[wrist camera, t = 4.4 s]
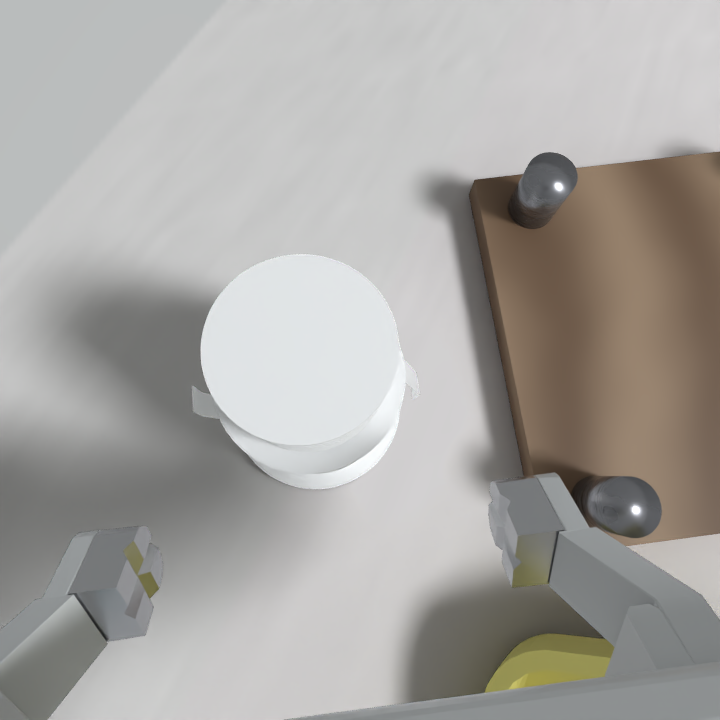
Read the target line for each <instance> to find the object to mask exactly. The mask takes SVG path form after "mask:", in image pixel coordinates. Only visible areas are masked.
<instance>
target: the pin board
mask: <svg viewBox="0 0 720 720" xmlns="http://www.w3.org/2000/svg"><path fill="white" fill-rule="evenodd" d="M469 197H470V202H471V208H472V213H473V218H474V223H475V228H476V233H477V238H478V243H479V249H480V254H481V259H482V264H483V269H484V274H485V279H486V284H487V289H488V295H489V300H490V305H491V310H492V315H493V320H494V325H495V330H496V336H497V341H498V346H499V351H500V356H501V361H502V366H503V371H504V376H505V382H506V387H507V392H508V397H509V402H510V407H511V412H512V417H513V422H514V428H515V433H516V438H517V443H518V448H519V453H520V458H521V463H522V469H523V474H524V476H530V475H532V476H534V475H539V474H547V473H554V472H555V473H556V474H558V475H559V477H560V478H561V480H562V482H563V483H564V485H565V487H566V488H567V490H568V492H569V494H570V495H571V497H572V499H573V500H574V502H575V504H576V505H577V507H578V509H579V511H580V512H581V514H582V516H583V517H584V519H585V521H586V522H587V524H588V526H589V527H590V528H592V527H597V528H598V529H600V530H601V531H603V532H604V533H606V534H608V535H609V536H611V537H612V538H614V539H615V540H617V541H618V542H620V543H622V544H623V545H625V546H631V545H638V544H645V543H653V542H660V541H668V540H675V539H682V538H690V537H697V536H704V535H712V534H719V533H720V152H713V153H704V154H696V155H687V156H678V157H670V158H661V159H652V160H643V161H635V162H626V163H617V164H608V165H600V166H591V167H582V168H575V166H574V164H573V163H572V162H571V161H570V160H569V159H568V158H566V157H565V156H563V155H561V154H558V153H551V152H549V153H543V154H540V155H538V156H536V157H535V158H533V159H532V160H531V162H530V163H529V165H528V167H527V168H526V170H525V172H524V174H521V175H513V176H504V177H495V178H486V179H478V180H474V183H473V186H472V188H471V191H470V193H469Z"/></svg>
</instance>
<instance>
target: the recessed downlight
mask: <svg viewBox="0 0 720 720" xmlns="http://www.w3.org/2000/svg"><path fill="white" fill-rule="evenodd" d="M201 365H202V370H203V375H204V378H205V381H206V384H207V386H208V389H209V391H210V393H211V394H208V393H203V392H201V391H200V390H198V389H197V388H196V387H194V386H191V387H192V407H193V412H194V413H196V414H198V415H200V416H202V417H209V418H217V419H220V421H221V423H222V425H223V427H224V429H225V430H226V432H227V433H228V434H229V436H230V437H231V439H232V440H233V441H234V442H235V443H236V444H237V445H238V446H239V447H240V448H241V449H242V450H243V451H244V452H245V453H247V454H248V455H249V457H250V458H251V459H252V460H253V462H254V463H255V464H256V465H257V466H258V467H259V468H260V469H262V470H263V471H264V472H265V473H267V474H268V475H269V476H271V477H273V478H274V479H276V480H278V481H280V482H282V483H285V484H288V485H291V486H294V487H298V488H304V489H327V488H333V487H337V486H340V485H344V484H346V483H349V482H351V481H353V480H355V479H357V478H359V477H360V476H362V475H363V474H365V473H366V472H367V471H369V470H370V469H371V468H372V467H373V466H374V465H375V464H376V463H377V462H378V461H379V460H380V459H381V458H382V456H383V455H384V454H385V452H386V451H387V449H388V447H389V446H390V444H391V442H392V440H393V437H394V435H395V432H396V429H397V426H398V421H399V414H400V408H401V405H402V401H403V397H404V392H405V384H406V385H408V386H409V387H410V389H411V395H412V400H414V399H415V398H416V397H418V396H419V395H420V392H419V385H418V379H417V373H416V371H415V370H414V369H413V368H412V367H411V366H410V365H409V364H408V363H407V362H406V360H405V359H404V358H403V354H402V350H401V347H400V344H399V338H398V331H397V326H396V323H395V320H394V316H393V314H392V312H391V309H390V307H389V305H388V304H387V302H386V300H385V299H384V297H383V296H382V294H381V293H380V291H379V290H378V289H377V288H376V287H375V286H374V285H373V284H372V283H371V282H370V281H369V280H368V279H367V278H366V277H365V276H364V275H362V274H361V273H360V272H358V271H357V270H355V269H354V268H352V267H350V266H348V265H346V264H344V263H342V262H339V261H337V260H334V259H331V258H328V257H323V256H318V255H311V254H292V255H285V256H279V257H275V258H272V259H269V260H266V261H263V262H261V263H258V264H256V265H254V266H252V267H251V268H249V269H247V270H246V271H244V272H243V273H241V274H240V275H238V276H237V277H236V278H235V279H234V280H232V281H231V282H230V283H229V284H228V285H227V286H226V287H225V289H224V290H223V291H222V292H221V293H220V295H219V296H218V298H217V299H216V301H215V302H214V304H213V306H212V307H211V309H210V311H209V314H208V316H207V318H206V321H205V325H204V328H203V332H202V337H201Z"/></svg>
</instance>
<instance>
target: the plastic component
mask: <svg viewBox="0 0 720 720" xmlns="http://www.w3.org/2000/svg"><path fill="white" fill-rule="evenodd" d="M614 648H615V647H614V646H613V645H612V644H611V643H610V642H609V641H607V640H606V639H600V638H591V637H582V636H573V635H564V634H541V635H537V636H534V637H531V638H529V639H527V640H525V641H523V642H521V643H520V644H518V645H517V646H516V647H515V648H514V649H513V650H512V651H511V652H510V653H509V654H508V655H507V657H506V658H505V659H504V661H503V662H502V663H501V665H500V666H499V667H498V669H497V670H496V672H495V673H494V675H493V676H492V678H491V680H490V681H489V683H488V684H487V687H486V690H485V692H484V693H487V692H495V691H502V690H509V689H517V688H524V687H532V686H539V685H546V684H554V683H561V682H569V681H576V680H584V679H591V678H598V677H605V673H606V670H607V668H608V665H609V662H610V659H611V656H612V653H613V651H614Z"/></svg>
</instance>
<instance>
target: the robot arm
mask: <svg viewBox="0 0 720 720" xmlns="http://www.w3.org/2000/svg"><path fill="white" fill-rule="evenodd" d="M490 494H491V497H492V500H493V501H492V502H491V503H490V504H489V513H488V516H489V523H490V529H491V533H492V536H493V539H494V542H495V545H496V546H498V547H499V548H500V549H501V550H503V554H502V564H503V566H504V569H505V571H506V574H507V577H508V579H509V582H510V585H511V587H512V588H514V587H524V586H534V585H543V584H549V587H550V588H552V589H553V590H554V591H555V592H556V593H557V594H558V595H559V596H560V597H561V598H562V599H563V600H564V601H566V602H567V603H568V604H569V605H570V606H571V607H572V608H573V609H574V610H575V611H576V612H577V613H578V614H579V615H581V616H582V617H583V618H584V619H585V620H586V621H587V622H588V623H589V624H590V625H591V626H592V627H593V628H595V629H596V630H597V631H598V632H599V633H600V634H601V635H602V636H603V637H604V638H605V639H606V640H607V641H609V642H610V643H611V644H612V645H613V646H614V647H615V648H614V651H613V653H612V656H611V659H610V662H609V665H608V668H607V670H606V673H605V677H598V678H591V679H584V680H576V681H569V682H561V683H554V684H546V685H539V686H532V687H524V688H517V689H509V690H502V691H495V692H487V693H479V694H472V695H464V696H457V697H449V698H442V699H434V700H427V701H419V702H412V703H404V704H397V705H389V706H382V707H374V708H367V709H359V710H352V711H344V712H337V713H329V714H322V715H315V716H307V717H300V718H292V719H285V720H720V620H719V618H718V617H717V615H716V614H715V613H714V611H713V610H712V608H711V607H710V606H709V604H708V603H707V601H706V600H705V599H704V597H703V596H702V595H701V594H699V593H698V592H696V591H695V590H693V589H691V588H690V587H688V586H687V585H685V584H684V583H682V582H681V581H679V580H678V579H676V578H674V577H673V576H671V575H670V574H668V573H667V572H665V571H664V570H662V569H660V568H659V567H657V566H656V565H654V564H653V563H651V562H650V561H648V560H646V559H645V558H643V557H642V556H640V555H639V554H637V553H636V552H634V551H632V550H631V549H629V548H628V547H626V546H625V545H623V544H622V543H620V542H618V541H617V540H615V539H614V538H612V537H611V536H609V535H608V534H606V533H604V532H603V531H601V530H600V529H598V528H597V527H592V528H590V527H589V526H588V524H587V522H586V521H585V519H584V517H583V516H582V514H581V512H580V511H579V509H578V507H577V505H576V504H575V502H574V500H573V499H572V497H571V495H570V494H569V492H568V490H567V488H566V487H565V485H564V483H563V482H562V480H561V478H560V477H559V475H558V474H556V473H555V472H554V473H547V474H539V475H534V476H532V475H530V476H522V477H515V478H508V479H501V480H494V481H492V482H491V484H490ZM151 536H152V534H151V533H150V531H149V529H148V527H147V526H135V527H125V528H115V529H105V530H98V531H89V532H80V533H78V534H77V535H76V536H74V537H73V539H72V540H71V542H70V544H69V546H68V548H67V550H66V552H65V554H64V556H63V558H62V560H61V562H60V564H59V566H58V568H57V570H56V572H55V574H54V576H53V578H52V580H51V582H50V584H49V586H48V588H47V590H46V592H45V594H44V596H43V598H41V599H35V600H34V601H33V602H32V603H31V604H30V605H28V606H27V607H26V608H25V609H24V610H23V611H22V612H20V613H19V614H18V615H17V616H16V617H15V618H14V619H13V620H11V621H10V622H9V623H8V624H7V625H6V626H5V627H3V628H2V629H1V630H0V720H47V719H48V718H49V717H50V716H51V714H52V713H53V712H54V711H55V709H56V708H57V707H58V706H59V704H60V703H61V702H62V701H63V699H64V698H65V697H66V696H67V694H68V693H69V692H70V691H71V689H72V688H73V687H74V686H75V684H76V683H77V682H78V681H79V679H80V678H81V677H82V676H83V674H84V673H85V672H86V671H87V669H88V668H89V667H90V666H91V664H92V663H93V662H94V660H95V659H96V658H97V657H98V655H99V654H100V653H101V652H102V650H103V649H104V648H105V647H106V645H107V644H108V643H107V642H108V641H115V640H121V639H127V638H134V637H140V636H145V635H146V632H147V629H148V625H149V622H150V618H151V615H152V612H153V608H154V606H153V604H152V602H151V600H150V598H151V597H152V596H153V595H154V594H155V592H156V591H157V590H158V589H159V588H160V584H161V580H162V575H163V561H162V556H161V553H160V551H159V548H158V547H156V546H155V545H153V544H151V543H149V542H150V539H151Z"/></svg>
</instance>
